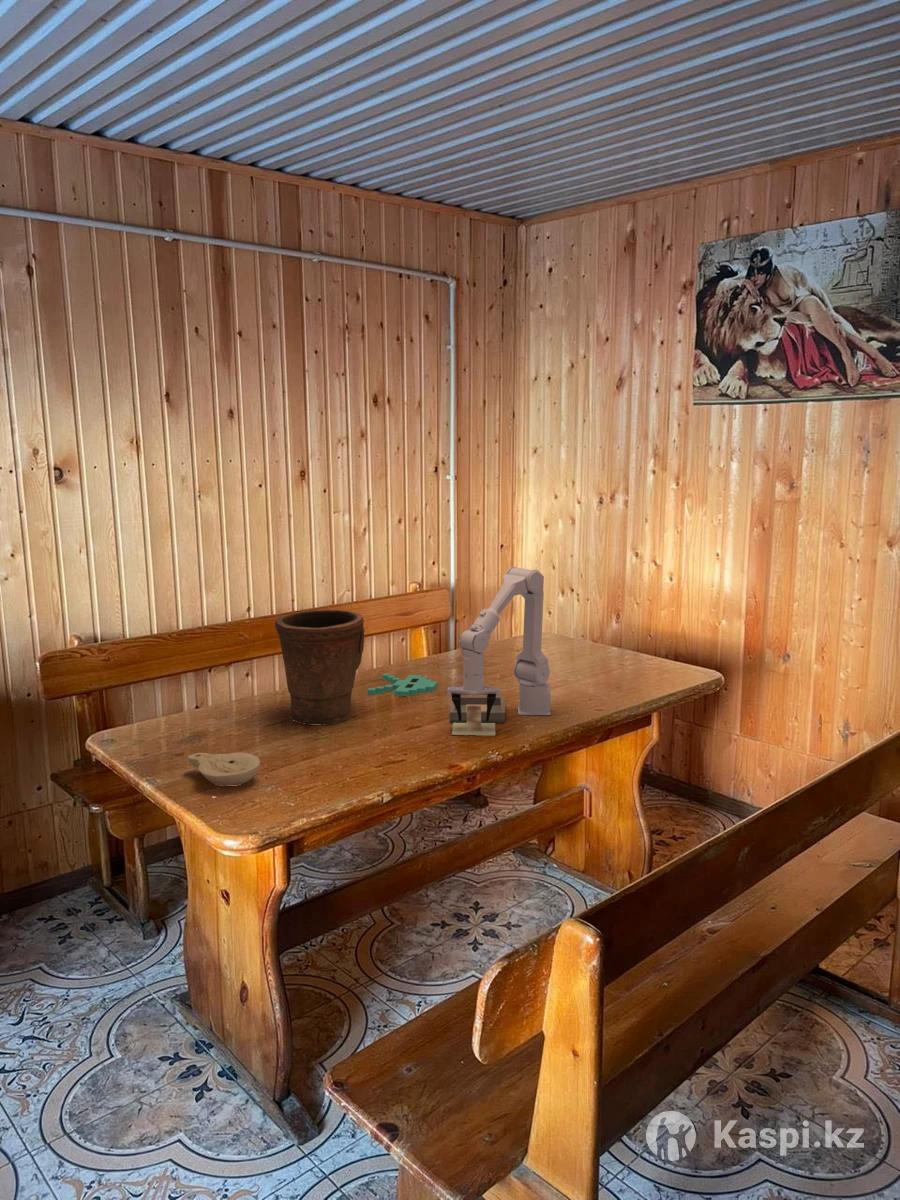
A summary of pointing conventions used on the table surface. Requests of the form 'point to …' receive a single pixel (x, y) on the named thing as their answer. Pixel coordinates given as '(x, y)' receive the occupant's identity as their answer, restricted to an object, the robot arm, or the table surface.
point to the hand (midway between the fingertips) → (473, 719)
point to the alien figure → (405, 685)
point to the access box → (495, 715)
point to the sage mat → (486, 730)
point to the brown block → (474, 718)
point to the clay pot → (321, 662)
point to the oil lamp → (226, 767)
